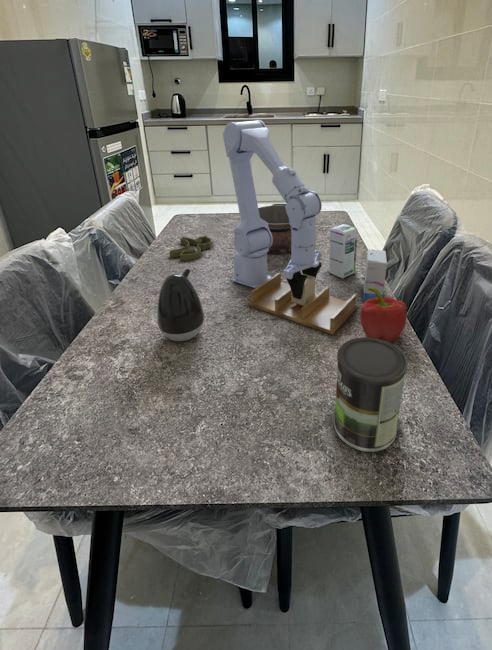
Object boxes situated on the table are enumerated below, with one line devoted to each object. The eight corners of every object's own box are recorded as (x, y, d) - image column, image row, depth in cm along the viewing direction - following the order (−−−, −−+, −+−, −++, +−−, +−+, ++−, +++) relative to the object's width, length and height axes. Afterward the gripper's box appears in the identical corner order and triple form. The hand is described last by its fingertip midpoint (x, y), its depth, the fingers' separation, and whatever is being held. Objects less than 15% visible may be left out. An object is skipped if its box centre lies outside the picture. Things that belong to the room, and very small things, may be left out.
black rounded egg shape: (214, 325, 91) (208, 267, 85) (191, 351, 82) (182, 289, 76) (177, 318, 94) (168, 262, 88) (150, 342, 85) (139, 282, 79)
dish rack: (249, 305, 99) (248, 292, 98) (279, 284, 110) (278, 271, 108) (332, 335, 87) (333, 320, 85) (357, 307, 97) (358, 293, 96)
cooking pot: (254, 228, 154) (253, 202, 150) (310, 228, 152) (310, 202, 148) (242, 258, 127) (240, 227, 122) (310, 259, 125) (310, 228, 121)
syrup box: (342, 279, 112) (345, 232, 106) (327, 272, 116) (329, 227, 110) (355, 273, 115) (358, 227, 110) (340, 267, 119) (342, 222, 114)
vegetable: (347, 327, 89) (350, 289, 85) (384, 317, 93) (388, 280, 89) (376, 354, 80) (380, 313, 76) (415, 341, 84) (421, 302, 80)
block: (291, 301, 97) (291, 280, 94) (301, 293, 100) (301, 273, 98) (304, 306, 95) (305, 284, 92) (314, 297, 98) (315, 276, 96)
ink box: (383, 304, 99) (387, 262, 94) (363, 302, 100) (366, 261, 95) (381, 288, 106) (385, 249, 102) (363, 287, 107) (366, 248, 102)
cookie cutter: (183, 240, 143) (183, 235, 142) (215, 240, 142) (214, 235, 141) (166, 260, 126) (165, 254, 126) (202, 260, 125) (201, 255, 125)
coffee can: (341, 455, 58) (346, 383, 53) (328, 404, 68) (331, 338, 62) (407, 450, 59) (419, 378, 53) (384, 400, 68) (392, 334, 63)
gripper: (302, 257, 84) (301, 310, 89) (332, 237, 95) (330, 285, 100) (275, 250, 87) (276, 302, 93) (307, 231, 98) (306, 279, 104)
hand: (302, 293), depth 97 cm, fingers closed on block, 5 cm apart
